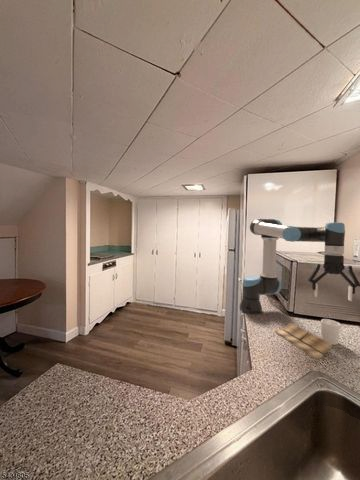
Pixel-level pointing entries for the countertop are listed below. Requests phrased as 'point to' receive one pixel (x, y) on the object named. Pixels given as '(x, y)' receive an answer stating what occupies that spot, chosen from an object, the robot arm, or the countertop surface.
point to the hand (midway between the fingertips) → (332, 298)
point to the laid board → (299, 344)
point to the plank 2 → (316, 343)
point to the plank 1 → (295, 331)
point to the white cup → (330, 331)
